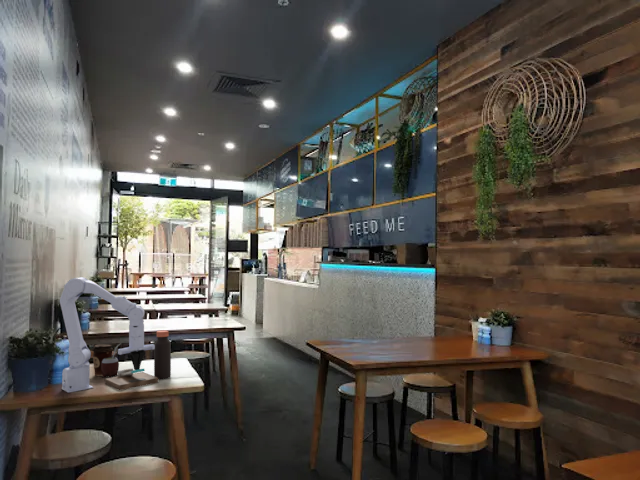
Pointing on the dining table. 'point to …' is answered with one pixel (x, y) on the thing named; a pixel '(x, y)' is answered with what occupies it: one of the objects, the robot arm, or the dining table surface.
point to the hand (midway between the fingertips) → (136, 369)
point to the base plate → (130, 380)
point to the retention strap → (133, 372)
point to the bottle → (162, 355)
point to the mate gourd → (110, 366)
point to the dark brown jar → (100, 356)
